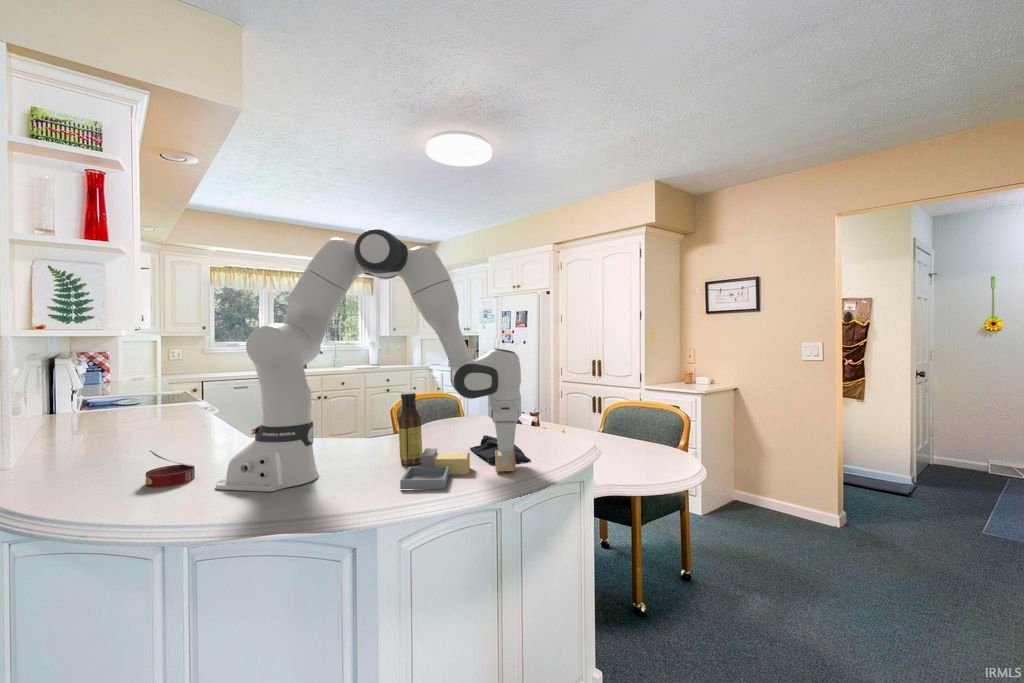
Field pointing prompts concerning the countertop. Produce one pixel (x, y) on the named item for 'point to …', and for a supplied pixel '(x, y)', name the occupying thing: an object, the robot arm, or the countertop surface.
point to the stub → (499, 462)
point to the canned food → (170, 475)
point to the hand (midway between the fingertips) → (505, 461)
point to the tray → (425, 478)
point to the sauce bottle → (409, 431)
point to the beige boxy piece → (446, 461)
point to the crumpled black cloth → (490, 446)
